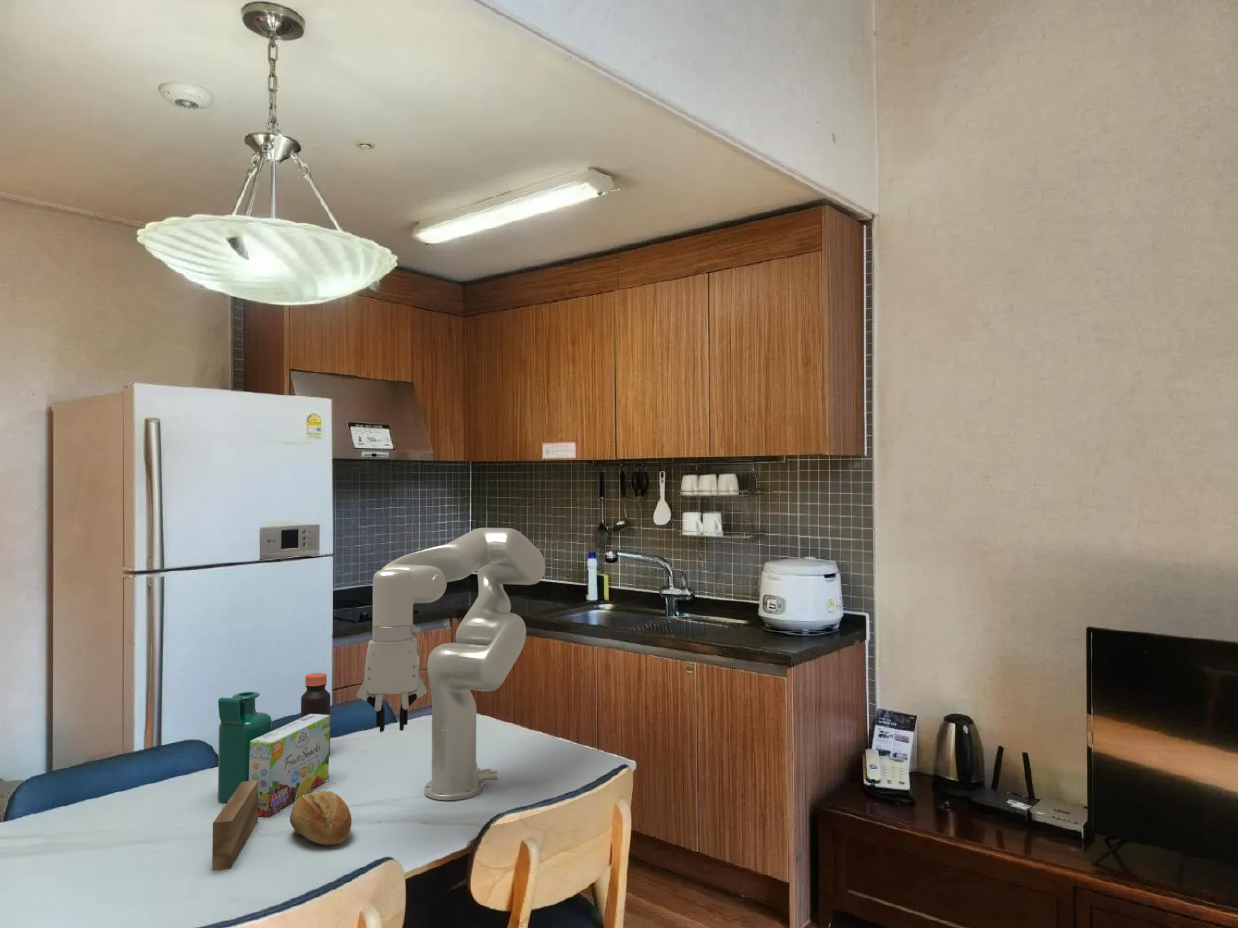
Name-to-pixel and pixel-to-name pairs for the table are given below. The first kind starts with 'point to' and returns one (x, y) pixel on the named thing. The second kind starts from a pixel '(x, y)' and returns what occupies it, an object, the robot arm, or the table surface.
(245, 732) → the pitcher
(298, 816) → the bread roll
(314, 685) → the bottle
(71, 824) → the table surface
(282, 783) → the snack box
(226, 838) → the walnut board
